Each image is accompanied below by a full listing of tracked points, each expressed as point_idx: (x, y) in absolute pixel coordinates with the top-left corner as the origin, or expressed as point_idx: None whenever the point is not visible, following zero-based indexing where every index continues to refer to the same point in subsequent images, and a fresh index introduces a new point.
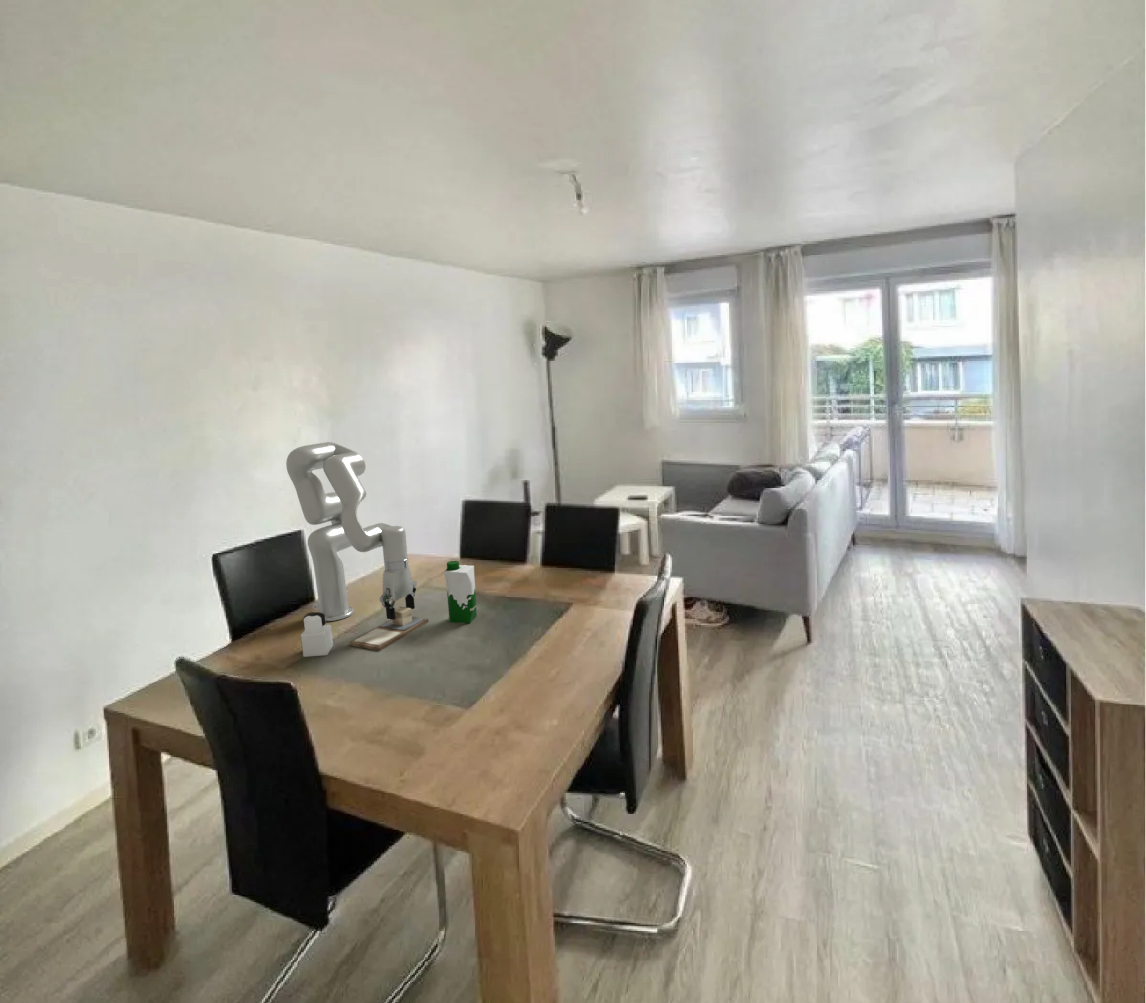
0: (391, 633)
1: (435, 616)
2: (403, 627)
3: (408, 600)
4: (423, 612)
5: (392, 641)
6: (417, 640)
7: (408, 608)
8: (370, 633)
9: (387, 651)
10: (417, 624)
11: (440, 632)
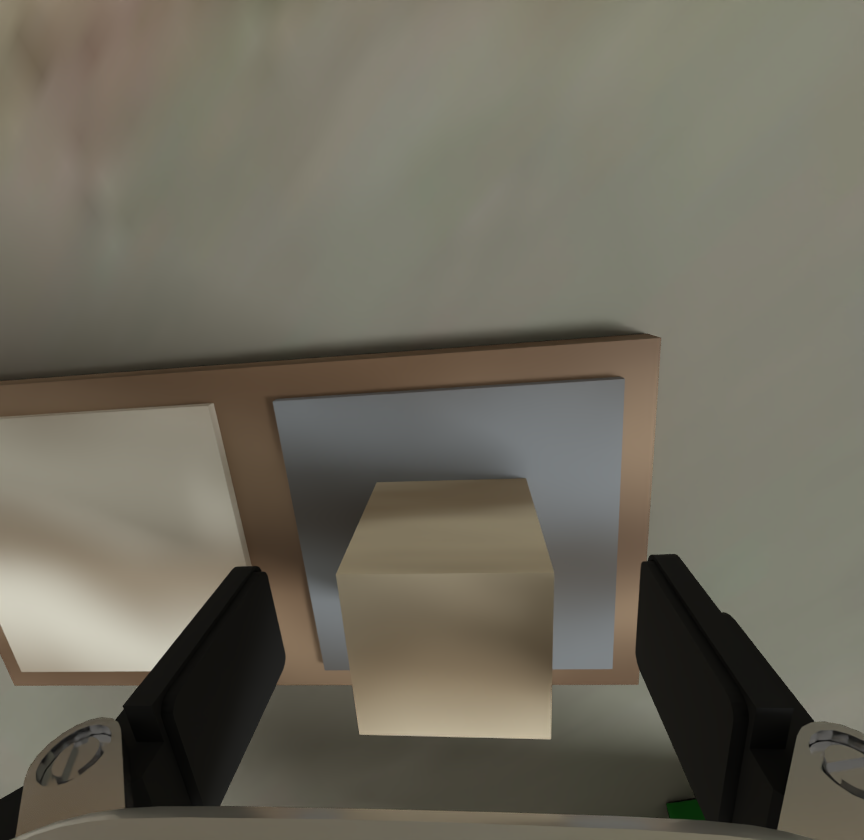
0: None
1: (772, 641)
2: None
3: (697, 718)
4: (857, 474)
5: None
6: (300, 772)
7: (529, 719)
8: (96, 448)
9: (68, 708)
10: None
11: None
